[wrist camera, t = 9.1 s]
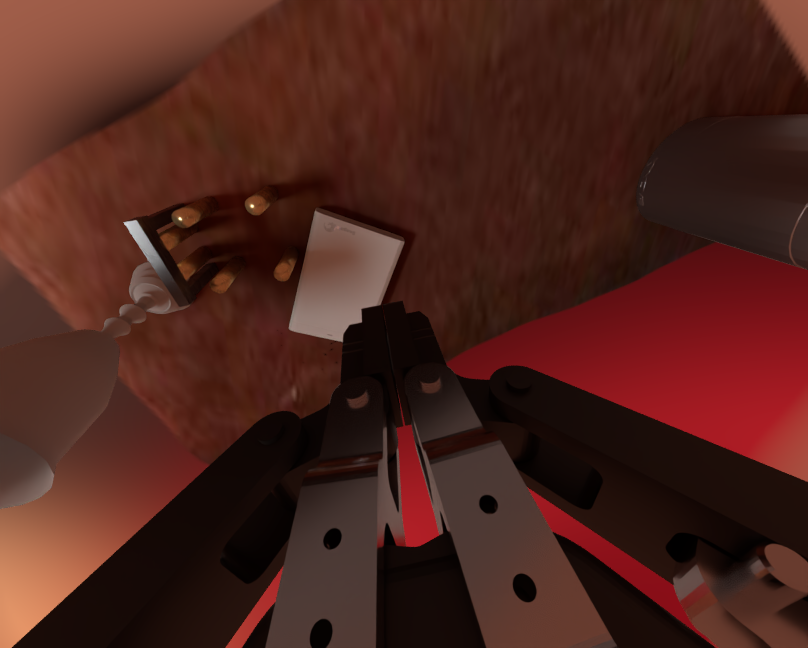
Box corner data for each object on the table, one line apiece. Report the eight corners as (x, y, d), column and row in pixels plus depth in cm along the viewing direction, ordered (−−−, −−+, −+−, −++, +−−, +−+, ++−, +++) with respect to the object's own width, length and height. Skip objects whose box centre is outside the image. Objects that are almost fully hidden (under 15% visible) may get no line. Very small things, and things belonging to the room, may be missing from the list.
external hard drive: (314, 210, 25) (287, 330, 31) (405, 242, 27) (365, 347, 33) (316, 206, 26) (290, 321, 32) (403, 236, 29) (364, 338, 34)
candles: (275, 184, 25) (254, 199, 20) (300, 257, 28) (289, 286, 23) (169, 203, 24) (120, 222, 19) (209, 274, 28) (176, 307, 23)
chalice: (152, 326, 30) (-48, 524, 15) (98, 264, 26) (-244, 446, 11) (222, 306, 30) (92, 485, 15) (178, 241, 26) (-58, 394, 11)
